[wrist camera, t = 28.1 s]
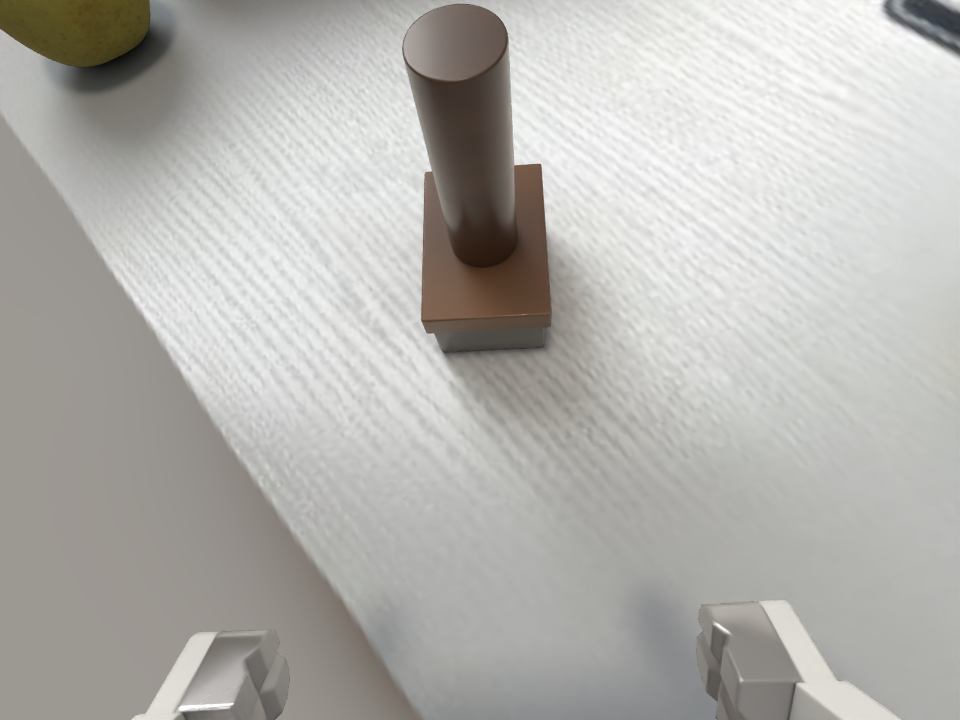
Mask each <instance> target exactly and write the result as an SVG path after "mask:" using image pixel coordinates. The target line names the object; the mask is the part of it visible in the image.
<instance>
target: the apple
mask: <svg viewBox="0 0 960 720" xmlns="http://www.w3.org/2000/svg"><path fill="white" fill-rule="evenodd" d="M149 23H150V6H149V0H0V29H1V30H3V31H4V32H6V33H7V34H8V35H10V36H11V37H13V38H14V39H15V40H17V41H18V42H20V43H22V44H23V45H25V46H26V47H28V48H30V49H31V50H33V51H35V52H37V53H39V54H41V55H43V56H45V57H47V58H49V59H51V60H53V61H56V62H59V63H62V64H66V65H70V66H76V67H90V66H96V65H100V64H103V63H106V62H108V61H110V60H112V59H115V58H117V57H119V56H121V55H123V54H125V53H126V52H128V51H130V50H131V49H133V48H134V47H136V46H137V45H138V44H139V43H140V42H141V41H142V40H143V39H144V37H145V35H146V34H147V32H148V29H149Z"/></svg>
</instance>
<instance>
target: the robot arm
mask: <svg viewBox="0 0 960 720" xmlns="http://www.w3.org/2000/svg"><path fill="white" fill-rule="evenodd" d="M698 620H699V623H700V625H701V628H702V630H703V631H702V632H701V633H700V634H699V635H698V636H697V645H696V652H697V659H698V666H699V670H700V674H701V678H702V681H703V683H704V686H705V689H706V692H707V693H708V694H709V695H710V696H711V697H712V698H714V699H715V700H716V701H717V711H716V719H717V720H902V719H901V718H899V717H898V716H897V715H895V714H894V713H892V712H891V711H890V710H888V709H887V708H885V707H884V706H882V705H881V704H880V703H878V702H877V701H875V700H874V699H873V698H871V697H870V696H868V695H867V694H865V693H864V692H863V691H861V690H860V689H858V688H857V687H856V686H854V685H853V684H851V683H850V682H848V681H838V680H837V678H836V676H835V675H834V673H833V671H832V670H831V668H830V667H829V665H828V663H827V662H826V660H825V659H824V657H823V655H822V654H821V652H820V651H819V649H818V647H817V646H816V644H815V643H814V641H813V639H812V638H811V636H810V635H809V633H808V631H807V630H806V628H805V627H804V625H803V623H802V622H801V620H800V619H799V617H798V615H797V614H796V612H795V611H794V609H793V607H792V606H791V604H790V603H788V602H787V601H786V600H773V601H757V602H754V601H750V602H735V603H721V604H706V605H701V607H700V609H699V616H698ZM279 644H280V641H279V638H278V636H277V633H276V631H275V630H248V631H220V632H197V633H196V634H195V635H194V636H192V637H191V638H190V639H189V640H188V642H187V644H186V645H185V647H184V649H183V650H182V652H181V654H180V656H179V657H178V659H177V661H176V662H175V664H174V666H173V667H172V669H171V671H170V673H169V674H168V676H167V678H166V679H165V682H164V683H163V685H162V686H161V688H160V690H159V692H158V693H157V695H156V697H155V698H154V700H153V702H152V703H151V705H150V707H149V708H148V710H147V712H146V714H138V715H136V716H135V717H134V718H133V719H131V720H275V719H276V718H277V717H278V716H279V715H280V714H281V713H282V711H283V709H284V706H285V703H286V700H287V696H288V688H289V682H290V677H289V667H288V664H287V661H286V659H285V658H284V657H283V656H281V655H280V654H279V653H277V649H278V647H279Z"/></svg>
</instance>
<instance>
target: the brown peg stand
mask: <svg viewBox="0 0 960 720" xmlns="http://www.w3.org/2000/svg"><path fill="white" fill-rule="evenodd" d="M402 51H403V57H404V61H405V65H406V69H407V73H408V77H409V81H410V85H411V89H412V93H413V97H414V101H415V105H416V109H417V113H418V117H419V121H420V125H421V128H422V132H423V136H424V140H425V144H426V148H427V152H428V156H429V160H430V164H431V168H432V172H425V182H424V224H423V266H422V308H421V321H422V323H423V326H424V328H425V330H426V332H427V333H434V334H435V336H436V339H437V341H438V344H439V346H440V348H441V351H442V352H453V351H474V350H495V349H516V348H537V347H543V346H544V333H545V328H547V327H550V326H551V314H552V313H551V299H550V284H549V269H548V255H547V240H546V225H545V211H544V196H543V181H542V167H541V164H529V165H515V166H514V149H513V127H512V106H511V84H510V63H509V41H508V33H507V30H506V27H505V26H504V24H503V22H502V21H501V20H500V18H499V17H498V16H497V15H495V14H494V13H493V12H491V11H489V10H487V9H485V8H482V7H480V6H476V5H470V4H453V5H447V6H443V7H440V8H437V9H434V10H432V11H430V12H428V13H426V14H424V15H423V16H421V17H420V18H419V19H418V20H416V21H415V22H414V23H413V24H412V26H411V27H410V28H409V30H408V31H407V33H406V35H405V38H404V41H403V47H402Z"/></svg>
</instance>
